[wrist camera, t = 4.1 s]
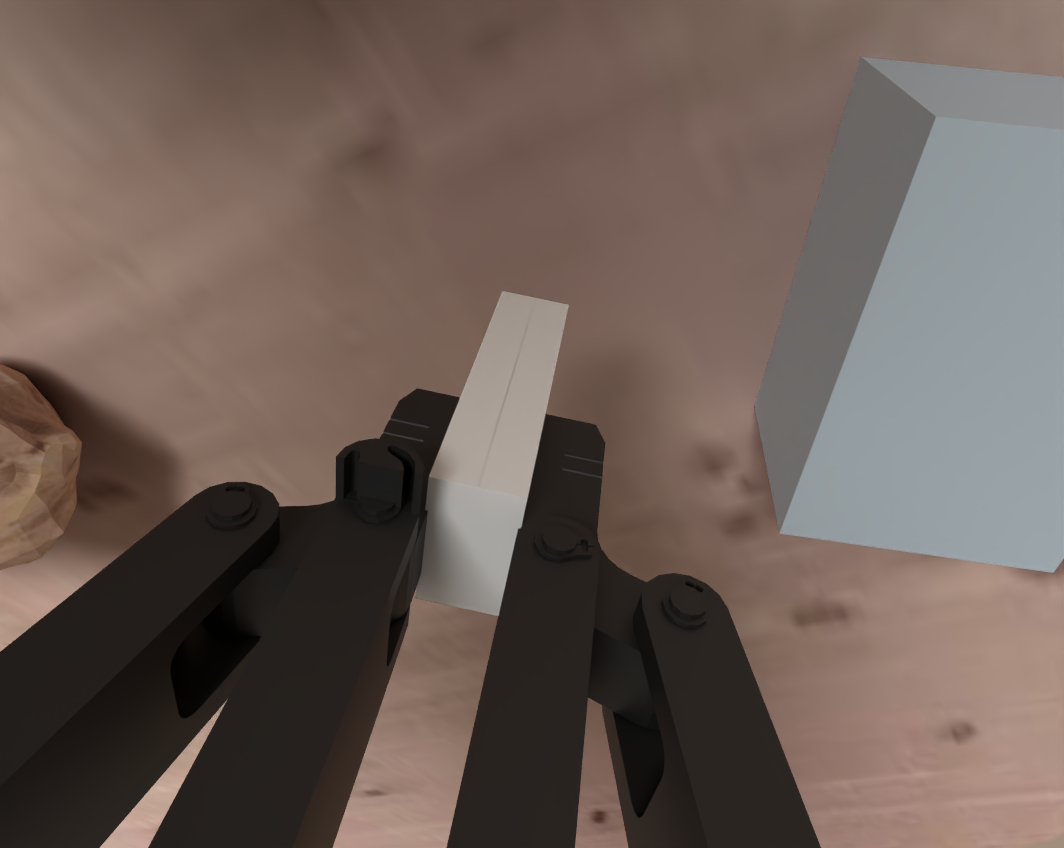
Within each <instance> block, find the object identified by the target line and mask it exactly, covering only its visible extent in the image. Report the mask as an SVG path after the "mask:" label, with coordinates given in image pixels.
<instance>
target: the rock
mask: <svg viewBox="0 0 1064 848" xmlns="http://www.w3.org/2000/svg"><path fill="white" fill-rule="evenodd" d="M81 448H82V442H81V441H80V439H79V438H78V437H77V436H76V434H75V433H74V432H73V431H72V430H71V429H69V428H67V427H65V426H64V424H63V422H62V421H61V419H60V418H59V416H58V414H57V413H56V411H55V410H54V408H53V406H52V405H51V404H50V403H49V402H48V401H47V400H46V398H45V397H44V396H43V395H42V394H41V393H40V392H39V391H38V389H37V388H36V387H35V386H34V385H33V384H32V383H31V382H30V381H29V379H28V378H27V377H26V376H25V375H24V374H22V373H20V372H18V371H16V370H14V369H11V368H9V367H7V366H5V365H2V364H0V570H2V569H5V568H8V567H12V566H15V565H19V564H24V563H29V562H31V561H34V560H36V559H38V558H40V557H42V556H43V555H44V554H45V553H46V552H47V551H48V550H49V549H50V548H51V547H52V545H53V544H54V543H55V542H56V540H57V539H58V538H59V537H60V536H61V535H62V534H63V533H64V532H65V530H66V528H67V525H68V523H69V521H70V519H71V516H72V514H73V512H74V510H75V507H76V505H77V494H76V475H77V473H78V470H79V464H80V454H81Z"/></svg>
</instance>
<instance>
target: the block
mask: <svg viewBox="0 0 1064 848" xmlns="http://www.w3.org/2000/svg"><path fill="white" fill-rule="evenodd" d="M754 407H755V412H756V418H757V423H758V428H759V433H760V438H761V443H762V448H763V453H764V458H765V463H766V468H767V473H768V479H769V484H770V489H771V494H772V499H773V504H774V509H775V514H776V519H777V524H778V529H779V534H786V535H793V536H800V537H807V538H814V539H821V540H828V541H835V542H842V543H849V544H856V545H863V546H870V547H877V548H884V549H891V550H898V551H905V552H911V553H918V554H925V555H932V556H939V557H946V558H953V559H960V560H967V561H974V562H981V563H988V564H995V565H1002V566H1009V567H1016V568H1023V569H1030V570H1037V571H1044V572H1051V573H1054V571H1055V570H1056V568H1057V567H1058V566H1059V564H1060V563H1061V561H1062V560H1063V559H1064V77H1057V76H1047V75H1037V74H1027V73H1017V72H1007V71H997V70H987V69H978V68H968V67H958V66H948V65H938V64H928V63H918V62H908V61H898V60H888V59H878V58H868V57H861V58H860V61H859V65H858V68H857V71H856V75H855V78H854V81H853V84H852V88H851V91H850V94H849V98H848V101H847V104H846V107H845V111H844V114H843V117H842V121H841V124H840V127H839V130H838V134H837V137H836V140H835V144H834V147H833V150H832V153H831V157H830V160H829V163H828V167H827V170H826V173H825V176H824V180H823V183H822V186H821V190H820V193H819V196H818V199H817V203H816V206H815V209H814V212H813V216H812V219H811V222H810V226H809V229H808V232H807V235H806V239H805V242H804V245H803V249H802V252H801V255H800V258H799V262H798V265H797V268H796V272H795V275H794V278H793V281H792V285H791V288H790V291H789V295H788V298H787V301H786V304H785V308H784V311H783V314H782V318H781V321H780V324H779V327H778V331H777V334H776V337H775V341H774V344H773V347H772V350H771V354H770V357H769V360H768V364H767V367H766V370H765V373H764V377H763V380H762V383H761V387H760V390H759V393H758V396H757V400H756V403H755V406H754Z"/></svg>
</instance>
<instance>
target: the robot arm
mask: <svg viewBox="0 0 1064 848" xmlns="http://www.w3.org/2000/svg"><path fill="white" fill-rule="evenodd" d="M568 307H569V305H567V304H562V303H558V302H553V301H548V300H543V299H539V298H534V297H529V296H525V295H520V294H515V293H510V292H506V291H502V293H501V296H500V298H499V301H498V303H497V306H496V308H495V311H494V313H493V316H492V318H491V321H490V324H489V326H488V329H487V331H486V334H485V336H484V339H483V341H482V344H481V346H480V349H479V351H478V354H477V356H476V359H475V361H474V364H473V366H472V369H471V371H470V374H469V377H468V379H467V382H466V384H465V387H464V389H463V392H462V394H461V397H460V398H459V397H455V396H450V395H445V394H441V393H436V392H431V391H427V390H422V389H416V390H414V391H413V392H411V393H410V394H409V395H407V396H406V397H404V398H403V399H401V400H400V401H399V402H398V404H397V406H396V408H395V410H394V412H393V414H392V416H391V419H390V420H389V422H388V424H387V426H386V427H385V429H384V433H383V434H382V435H381V437H380V439H376V438H375V439H368V440H362V441H358V442H356V443H353V444H351V445H349V446H347V447H345V448H344V449H343V450H342V451H341V452H340V453H339V454H338V455H337V456H336V498H335V500H334V501H331V502H327V503H324V504H320V505H311V506H285V507H279V503H278V501H277V500H276V498H275V496H274V494H273V493H271V492H270V491H268V490H267V489H265V488H264V487H262V486H260V485H256V484H252V483H248V482H227V483H223V484H219V485H215V486H211V487H209V488H207V489H205V490H204V491H202V492H200V493H198V494H197V495H195V496H194V497H193V498H191V499H190V500H189V501H188V502H186V503H185V504H184V505H183V506H181V507H180V508H179V509H178V510H176V511H175V512H174V513H173V514H171V515H170V516H169V517H168V518H166V519H165V520H164V521H163V522H161V523H160V524H159V525H158V526H156V527H155V528H154V529H153V530H151V531H150V532H149V533H148V534H146V535H145V536H144V537H143V538H141V539H140V540H139V541H138V542H136V543H135V544H134V545H133V546H132V547H130V548H129V549H128V550H127V551H125V552H124V553H123V554H122V555H120V556H119V557H118V558H117V559H115V560H114V561H113V562H112V563H110V564H109V565H108V566H107V567H105V568H104V569H103V570H102V571H100V572H99V573H98V574H97V575H95V576H94V577H93V578H92V579H90V580H89V581H88V582H87V583H85V584H84V585H83V586H82V587H80V588H79V589H78V590H77V591H75V592H74V593H73V594H72V595H70V596H69V597H68V598H67V599H66V600H64V601H63V602H62V603H61V604H59V605H58V606H57V607H56V608H54V609H53V610H52V611H51V612H49V613H48V614H47V615H46V616H44V617H43V618H42V619H41V620H39V621H38V622H37V623H36V624H34V625H33V626H32V627H31V628H29V629H28V630H27V631H26V632H24V633H23V634H22V635H21V636H19V637H18V638H17V639H16V640H14V641H13V642H12V643H11V644H9V645H8V646H7V647H6V648H5V649H3V650H2V651H1V652H0V848H100V846H101V845H102V844H103V843H104V842H105V841H106V839H107V838H108V837H109V836H110V835H111V834H112V832H113V831H114V830H115V829H116V828H117V827H118V826H119V824H120V823H121V822H122V821H123V820H124V819H125V817H126V816H127V815H128V814H129V813H130V812H131V810H132V809H133V808H134V807H135V806H136V805H137V803H138V802H139V801H140V800H141V799H142V798H143V797H144V795H145V794H146V793H147V792H148V791H149V790H150V788H151V787H152V786H153V785H154V784H155V783H156V781H157V780H158V779H159V778H160V777H161V776H162V774H163V773H164V772H165V771H166V770H167V769H168V767H169V766H170V765H171V764H172V763H173V762H174V761H175V759H176V758H177V757H178V756H179V755H180V754H181V752H182V751H183V750H184V749H185V748H186V747H187V745H188V744H189V743H190V742H191V741H192V740H193V738H194V737H195V736H196V735H197V734H198V733H199V732H200V730H201V729H202V728H203V727H204V726H205V725H206V723H207V722H208V721H209V720H210V719H211V718H212V716H213V715H214V714H215V713H216V712H217V711H218V709H219V708H220V707H221V706H222V705H223V704H224V702H225V701H226V700H227V699H228V700H227V702H226V704H225V705H224V707H223V709H222V711H221V713H220V715H219V717H218V719H217V720H216V722H215V724H214V726H213V728H212V730H211V732H210V733H209V735H208V737H207V739H206V741H205V743H204V745H203V747H202V748H201V750H200V752H199V754H198V756H197V758H196V760H195V761H194V763H193V765H192V767H191V769H190V771H189V773H188V775H187V776H186V778H185V780H184V782H183V784H182V786H181V788H180V789H179V791H178V793H177V795H176V797H175V799H174V801H173V803H172V804H171V806H170V808H169V810H168V812H167V814H166V816H165V817H164V819H163V821H162V823H161V825H160V827H159V829H158V831H157V832H156V834H155V836H154V838H153V840H152V842H151V844H150V845H149V847H148V848H332V847H333V844H334V842H335V839H336V836H337V833H338V830H339V827H340V824H341V821H342V818H343V815H344V812H345V809H346V806H347V803H348V800H349V797H350V794H351V791H352V788H353V786H354V783H355V780H356V777H357V774H358V771H359V768H360V765H361V762H362V759H363V756H364V753H365V750H366V747H367V744H368V741H369V738H370V735H371V733H372V730H373V727H374V724H375V721H376V718H377V715H378V712H379V709H380V706H381V703H382V700H383V697H384V694H385V691H386V688H387V685H388V682H389V679H390V677H391V674H392V671H393V668H394V665H395V662H396V659H397V656H398V653H399V650H400V647H401V644H402V641H403V638H404V635H405V632H406V629H407V626H408V620H409V610H410V604H411V601H412V598H413V595H414V592H415V589H416V587H417V592H416V598H417V599H421V600H426V601H431V602H435V603H440V604H444V605H449V606H454V607H458V608H463V609H467V610H472V611H476V612H481V613H486V614H490V615H495V616H498V620H497V625H496V629H495V634H494V638H493V643H492V647H491V652H490V656H489V661H488V665H487V670H486V674H485V679H484V683H483V688H482V692H481V696H480V701H479V705H478V710H477V714H476V719H475V723H474V728H473V732H472V737H471V741H470V746H469V750H468V755H467V759H466V764H465V768H464V773H463V777H462V782H461V786H460V791H459V795H458V800H457V804H456V808H455V813H454V817H453V822H452V826H451V831H450V835H449V840H448V844H447V848H575V839H576V827H577V816H578V804H579V793H580V781H581V769H582V758H583V746H584V735H585V723H586V712H587V700H588V697H589V698H590V699H592V700H594V701H596V702H598V703H599V704H601V705H602V712H603V717H604V722H605V727H606V732H607V738H608V743H609V748H610V753H611V758H612V764H613V769H614V774H615V779H616V784H617V789H618V795H619V800H620V805H621V810H622V815H623V820H624V826H625V831H626V836H627V841H628V846H629V848H821V847H820V844H819V842H818V839H817V837H816V834H815V831H814V829H813V826H812V824H811V821H810V819H809V816H808V813H807V811H806V808H805V806H804V803H803V801H802V798H801V795H800V793H799V790H798V788H797V785H796V783H795V780H794V777H793V775H792V772H791V770H790V767H789V765H788V762H787V759H786V757H785V754H784V752H783V749H782V747H781V744H780V741H779V739H778V736H777V734H776V731H775V729H774V726H773V723H772V721H771V718H770V716H769V713H768V711H767V708H766V705H765V703H764V700H763V698H762V695H761V693H760V690H759V687H758V685H757V682H756V680H755V677H754V675H753V672H752V669H751V667H750V664H749V662H748V659H747V657H746V654H745V651H744V649H743V646H742V644H741V641H740V639H739V636H738V633H737V631H736V628H735V626H734V623H733V621H732V618H731V615H730V613H729V610H728V608H727V606H726V605H725V603H724V602H723V600H722V598H721V597H720V595H719V594H718V593H716V592H715V591H714V590H713V589H712V588H711V587H709V586H708V585H707V584H706V583H703V582H701V581H699V580H697V579H695V578H693V577H691V576H686V575H681V574H676V573H672V574H664V575H659V576H657V577H655V578H654V579H652V580H650V581H649V582H647V583H646V582H644V581H642V580H640V579H638V578H636V577H634V576H632V575H630V574H628V573H627V572H625V571H623V570H622V569H620V568H618V567H617V566H616V565H615V564H614V563H613V562H611V561H610V560H609V559H608V558H607V556H606V555H605V553H604V552H603V551H602V549H601V547H600V544H599V542H598V536H597V527H598V516H599V505H600V494H601V483H602V479H601V478H602V472H603V461H604V449H605V442H604V440H603V438H602V436H601V434H600V432H599V430H598V428H597V426H596V425H594V424H589V423H585V422H580V421H575V420H571V419H566V418H561V417H557V416H552V415H547V414H546V410H547V405H548V400H549V396H550V391H551V386H552V382H553V377H554V372H555V368H556V363H557V358H558V354H559V349H560V344H561V340H562V335H563V330H564V326H565V321H566V316H567V312H568Z"/></svg>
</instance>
